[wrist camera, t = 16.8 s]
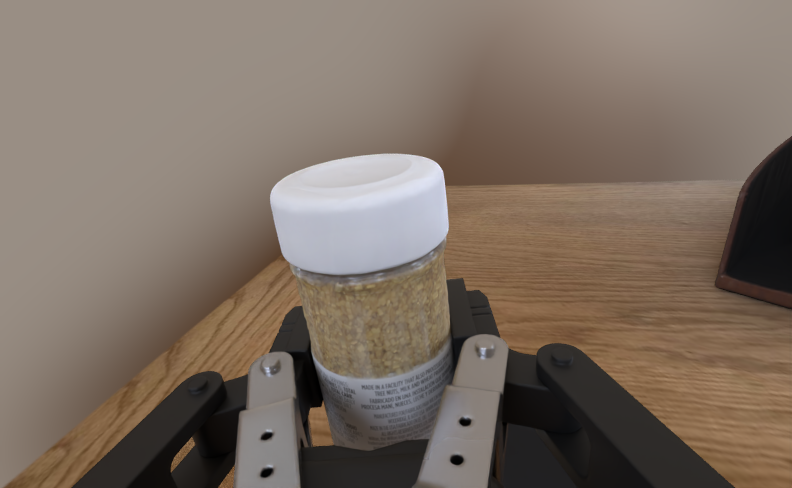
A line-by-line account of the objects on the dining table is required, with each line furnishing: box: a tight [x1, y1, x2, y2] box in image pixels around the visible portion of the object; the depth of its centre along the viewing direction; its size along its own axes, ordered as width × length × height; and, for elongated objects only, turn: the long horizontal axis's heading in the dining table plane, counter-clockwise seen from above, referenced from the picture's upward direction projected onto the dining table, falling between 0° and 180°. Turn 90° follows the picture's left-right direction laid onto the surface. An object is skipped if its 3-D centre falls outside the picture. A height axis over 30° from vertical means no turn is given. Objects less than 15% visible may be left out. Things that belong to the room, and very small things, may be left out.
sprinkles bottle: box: [270, 154, 455, 451], centre depth 14 cm, size 5×5×13 cm
